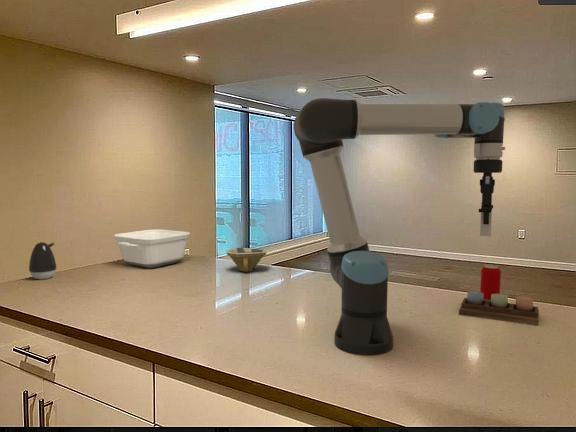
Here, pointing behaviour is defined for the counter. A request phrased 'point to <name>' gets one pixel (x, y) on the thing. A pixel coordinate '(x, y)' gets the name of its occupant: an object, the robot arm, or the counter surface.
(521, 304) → the terracotta button
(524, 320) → the panel
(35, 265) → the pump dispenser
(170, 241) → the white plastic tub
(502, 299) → the sage button
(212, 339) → the counter surface
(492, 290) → the beverage can
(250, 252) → the bowl
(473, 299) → the slate button
